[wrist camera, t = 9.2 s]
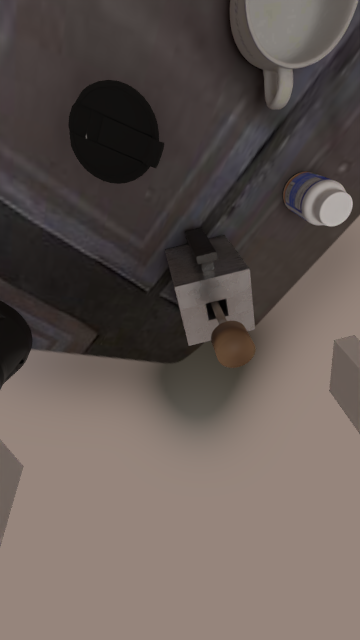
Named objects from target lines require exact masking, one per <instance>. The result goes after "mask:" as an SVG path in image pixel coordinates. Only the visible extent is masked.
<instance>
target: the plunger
mask: <svg viewBox="0 0 360 640" xmlns="http://www.w3.org/2000/svg"><path fill="white" fill-rule="evenodd" d="M210 304H211V306H212V309H213V311H214V313H215V316H216V318H217V321H218V323H219V325H218V326H217V327H216V328H215V329H214V330H213V332H212V335H211V341H212V344H213V347H214V350H215V352H216V355H217V358H218V361H219V362H220V363H221V364H222V365H223V366H226V367H230V368H235V367H240V366H243V365H245V364H246V363H248V362H249V361H250V360H251V359H252V358H253V356H254V354H255V345H254V343H253V341H252V339H251V338H250V336H249V334H248V332H247V330H246V328H245V326H244V325H243V324H242V323H240V322H238V321H227V320H226V318H225V316H224V313H223V311H222V309H221V307H220V305H219V303H218V301H214V302H210Z"/></svg>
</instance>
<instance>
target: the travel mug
mask: <svg viewBox="0 0 360 640" xmlns="http://www.w3.org/2000/svg"><path fill="white" fill-rule="evenodd" d="M69 129H70V140H71V146H72V149H73V151H74V153H75V155H76V157H77V158H78V160H79V162H80V163H81V164H82V165H83V167H84V168H85V169H86V170H87V171H88V172H90V173H91V174H92V175H94V176H95V177H97V178H99V179H101V180H103V181H106V182H110V183H118V184H119V183H127V182H130V181H133V180H135V179H137V178H139V177H140V176H142V175H143V174H144V173H145V172H146V171H147V170H148V169H149V167H150V166H151V167H154V168H156V167H157V165H158V163H159V161H160V158H161V155H162V152H163V148H164V143H162V142H159V132H158V124H157V121H156V118H155V115H154V113H153V111H152V109H151V107H150V105H149V104H148V102H147V101H146V100H145V98H144V97H143V96H142V95H141V94H140V93H139V92H138V91H137V90H135V89H134V88H132V87H131V86H129V85H127V84H124V83H122V82H119V81H112V80H105V81H98V82H96V83H93V84H91V85H89V86H88V87H86V88H85V89H84V90H83V91H82V92H81V94H80V95H79V97H78V99H77V100H76V102H75V104H74V105H73V106H72V109H71V112H70V116H69Z"/></svg>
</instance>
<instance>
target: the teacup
mask: <svg viewBox="0 0 360 640" xmlns="http://www.w3.org/2000/svg"><path fill="white" fill-rule="evenodd" d="M357 3H358V0H230V24H231V30H232V34H233V37H234V40H235V43H236V45H237V47H238V49H239V51H240V52H241V54H242V55H243V56H244V58H245V59H246V60H247V61H248V62H250V63H251V64H252V65H254V66H256V67H258V68H260V69H263V76H264V89H265V100H266V104H267V106H268V107H269V108H270V109H281V108H283V107H284V106H285V105H286V104H287V102H288V101H289V98H290V96H291V92H292V87H293V71H292V70H293V69H298V68H302V67H306V66H309V65H312V64H314V63H316V62H318V61H319V60H321V59H322V58H324V57H325V56H326V55H327V54H328V53H329V52H330V51H331V50H332V49H333V48H334V47H335V46H336V45H337V44H338V42H339V41H340V39H341V38H342V37H343V35H344V33H345V32H346V30H347V28H348V26H349V24H350V21H351V19H352V17H353V15H354V12H355V9H356V6H357Z"/></svg>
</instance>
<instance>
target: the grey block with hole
mask: <svg viewBox="0 0 360 640" xmlns="http://www.w3.org/2000/svg"><path fill="white" fill-rule="evenodd" d="M185 235H186V239H187V241H188V244H185V245H181V246H177V247H173V248H169V249H165V252H166V257H167V261H168V265H169V269H170V273H171V277H172V281H173V285H174V289H175V293H176V298H177V302H178V305H179V309H180V313H181V317H182V321H183V325H184V329H185V333H186V337H187V341H188V344H189V346H190V345H194V344H198V343H202V342H206V341H210V340H211V335H212V332H213V330H214V329H215V328H216V327H217V326H218V325H219V323H218V321H217V318H216V316H215V313H214V311H213V309H212V306H211V304H210V302H214V301H218V303H219V305H220V307H221V309H222V311H223V313H224V316H225V318H226V320H227V321H238V322H240V323H242V324H243V325H244V326H245V328H246V330H247V331H251V330H254V329H255V324H254V313H253V302H252V290H251V279H250V269H249V267H248V266H247V265H246V263H245V262H244V261H243V259H242V258H241V257H240V255H239V254H238V253H237V251H236V250H235V249H234V247H233V246H232V245H231V243H230V242H229V241H228V239H227V238H226V237H225V235H221V236H217V237H213V238H209V239H208V237H207V236H206V234H205V232H204V231H203V229H202V228H198V229H194V230H190V231H186V232H185Z"/></svg>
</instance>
